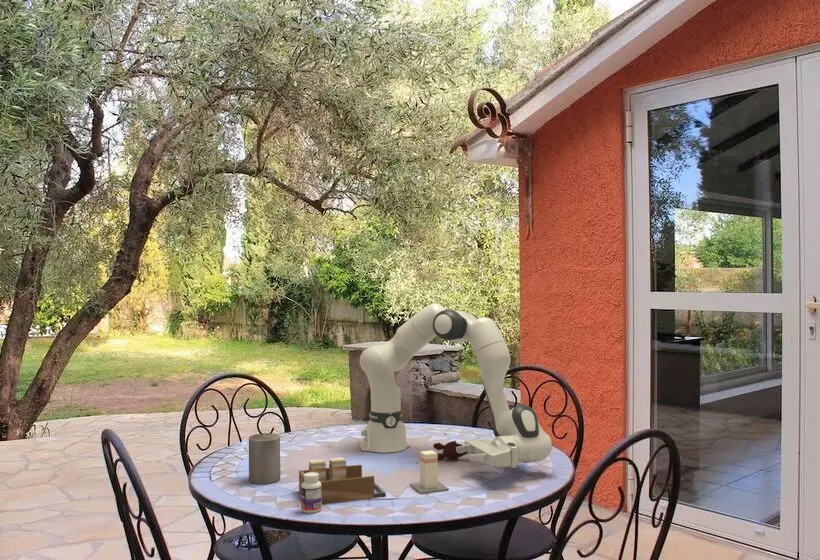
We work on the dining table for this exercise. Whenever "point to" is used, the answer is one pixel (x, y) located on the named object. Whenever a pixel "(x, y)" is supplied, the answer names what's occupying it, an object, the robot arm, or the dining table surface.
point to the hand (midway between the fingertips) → (463, 453)
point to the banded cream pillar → (428, 469)
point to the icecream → (449, 450)
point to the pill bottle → (311, 493)
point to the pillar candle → (264, 458)
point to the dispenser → (342, 481)
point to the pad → (428, 490)
